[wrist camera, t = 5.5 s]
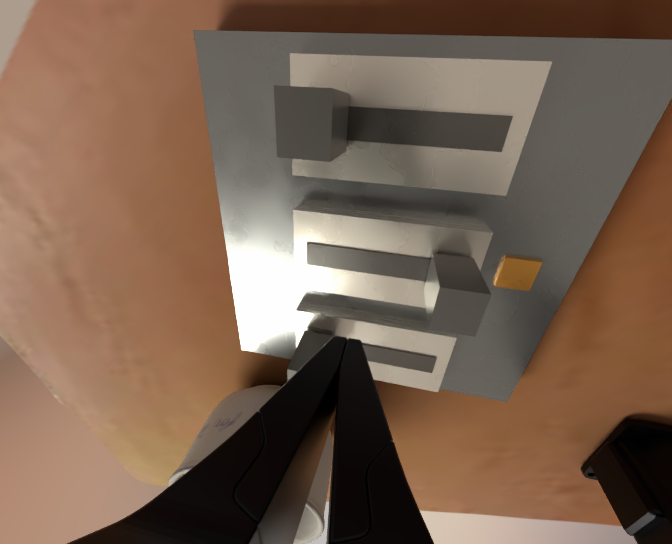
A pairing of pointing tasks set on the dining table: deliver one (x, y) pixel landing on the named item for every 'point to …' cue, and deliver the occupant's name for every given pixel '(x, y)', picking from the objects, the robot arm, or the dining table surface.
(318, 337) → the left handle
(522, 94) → the breaker panel
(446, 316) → the handle
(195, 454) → the teacup
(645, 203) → the dining table surface
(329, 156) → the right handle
